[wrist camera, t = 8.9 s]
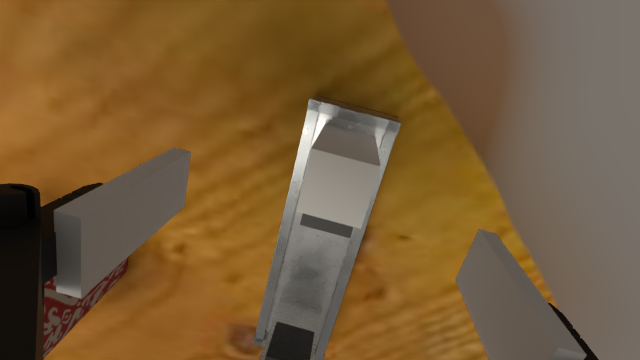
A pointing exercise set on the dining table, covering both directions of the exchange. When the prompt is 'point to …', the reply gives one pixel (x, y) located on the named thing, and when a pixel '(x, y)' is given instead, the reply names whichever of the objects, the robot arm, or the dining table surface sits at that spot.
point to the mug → (71, 307)
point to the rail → (315, 247)
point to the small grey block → (338, 181)
